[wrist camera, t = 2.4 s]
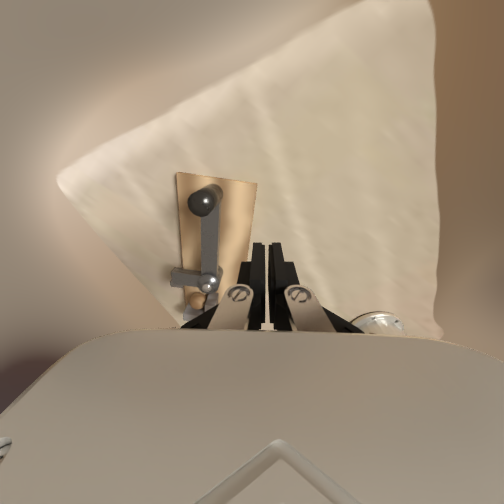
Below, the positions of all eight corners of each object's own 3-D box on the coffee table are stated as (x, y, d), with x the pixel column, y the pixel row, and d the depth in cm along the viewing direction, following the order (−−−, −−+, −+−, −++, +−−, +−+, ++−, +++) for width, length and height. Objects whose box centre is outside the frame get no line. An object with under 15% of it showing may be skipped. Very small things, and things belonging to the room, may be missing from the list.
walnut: (208, 290, 40) (203, 301, 36) (208, 301, 41) (203, 314, 38) (192, 288, 39) (186, 299, 36) (193, 299, 41) (187, 311, 38)
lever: (228, 184, 28) (216, 194, 21) (222, 282, 38) (212, 314, 30) (168, 175, 28) (133, 182, 21) (177, 276, 38) (156, 306, 30)
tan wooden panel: (257, 183, 29) (256, 188, 25) (240, 311, 44) (237, 329, 39) (179, 172, 29) (163, 175, 25) (187, 304, 44) (179, 321, 39)
